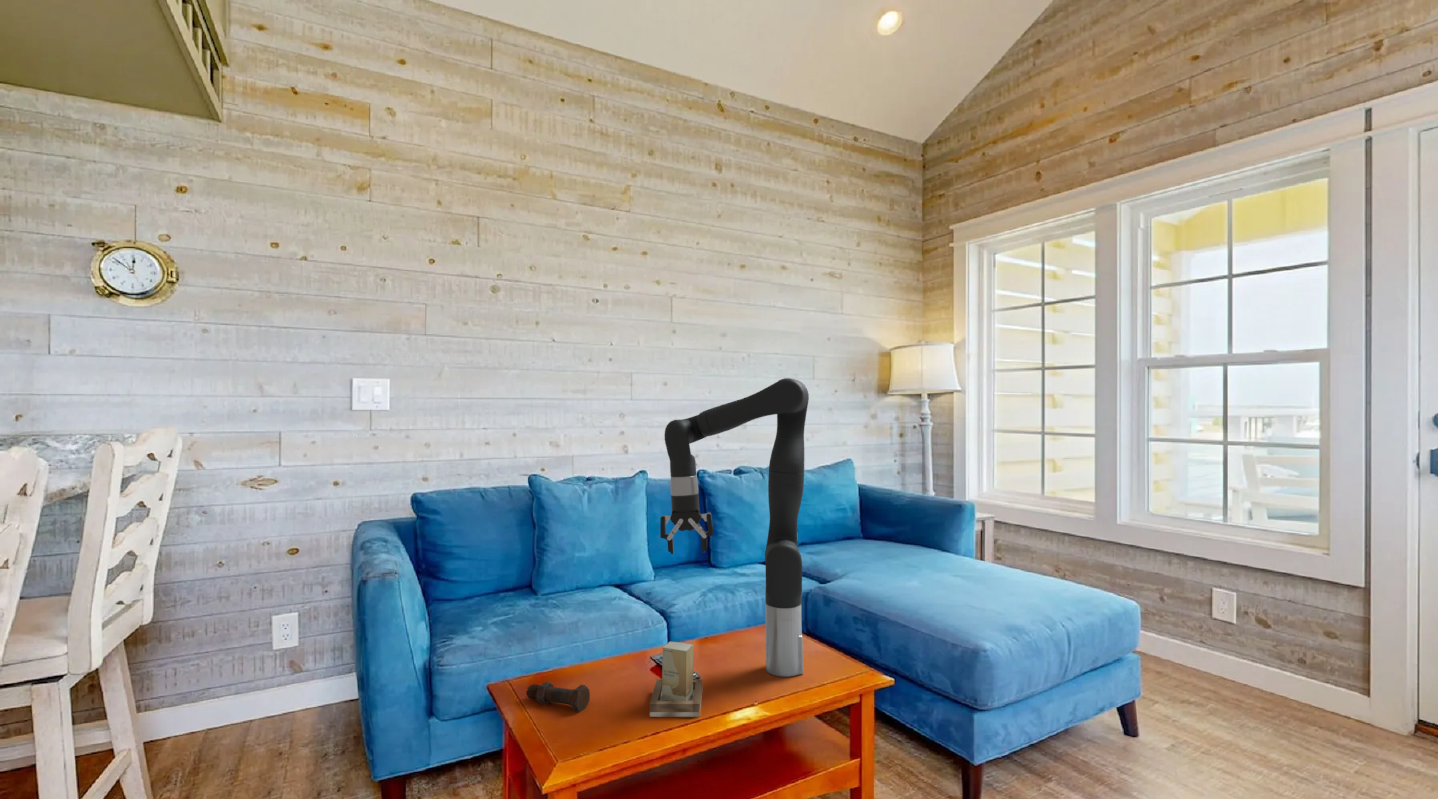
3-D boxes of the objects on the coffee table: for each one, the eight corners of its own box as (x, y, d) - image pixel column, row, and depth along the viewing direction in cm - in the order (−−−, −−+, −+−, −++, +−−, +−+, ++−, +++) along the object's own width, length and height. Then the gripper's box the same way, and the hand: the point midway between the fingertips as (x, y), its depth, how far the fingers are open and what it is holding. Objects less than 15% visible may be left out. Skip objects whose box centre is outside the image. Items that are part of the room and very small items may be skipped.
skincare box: (661, 700, 151) (660, 647, 151) (669, 692, 155) (668, 640, 156) (687, 704, 149) (686, 650, 149) (694, 696, 153) (693, 643, 153)
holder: (702, 691, 158) (702, 679, 158) (699, 716, 145) (699, 703, 145) (656, 691, 159) (656, 679, 159) (649, 716, 146) (649, 703, 146)
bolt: (532, 705, 156) (586, 714, 150) (519, 702, 152) (574, 711, 146) (539, 679, 159) (592, 686, 153) (527, 676, 155) (581, 683, 149)
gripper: (656, 495, 176) (660, 557, 175) (710, 492, 176) (714, 554, 175) (659, 492, 183) (663, 551, 183) (711, 489, 183) (714, 548, 182)
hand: (688, 552), depth 179 cm, fingers open, 8 cm apart
